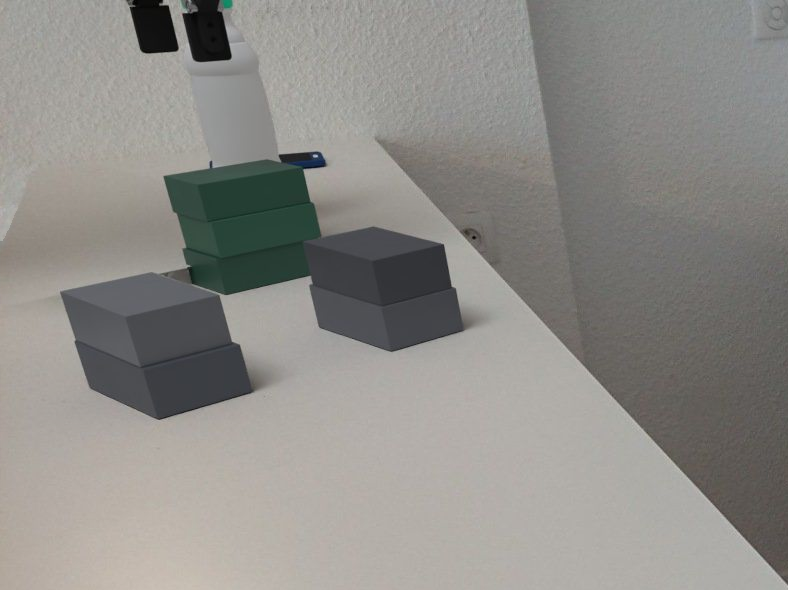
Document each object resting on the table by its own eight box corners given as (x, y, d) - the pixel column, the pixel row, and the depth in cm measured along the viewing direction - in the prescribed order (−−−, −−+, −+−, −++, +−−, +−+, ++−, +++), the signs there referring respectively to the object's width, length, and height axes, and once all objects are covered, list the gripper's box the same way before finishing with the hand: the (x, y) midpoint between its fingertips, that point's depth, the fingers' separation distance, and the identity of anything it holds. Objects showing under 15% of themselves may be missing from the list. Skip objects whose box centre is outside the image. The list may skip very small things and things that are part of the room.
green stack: (226, 295, 120) (207, 222, 117) (191, 283, 124) (171, 212, 121) (329, 271, 128) (314, 202, 124) (293, 260, 131) (277, 193, 128)
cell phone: (326, 165, 173) (325, 159, 173) (210, 175, 168) (209, 169, 167) (322, 156, 179) (320, 150, 179) (210, 165, 173) (208, 159, 173)
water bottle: (219, 235, 140) (153, -13, 129) (237, 220, 146) (176, -18, 135) (288, 232, 141) (229, -14, 130) (303, 217, 148) (248, -18, 136)
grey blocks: (158, 419, 93) (126, 318, 89) (89, 387, 98) (57, 291, 95) (464, 330, 111) (448, 243, 107) (390, 307, 117) (373, 224, 113)
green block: (207, 222, 117) (197, 184, 116) (172, 212, 121) (162, 175, 119) (311, 202, 124) (303, 166, 123) (275, 193, 128) (267, 159, 126)
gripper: (42, -160, 110) (98, 52, 118) (136, -162, 101) (190, 68, 109) (134, -156, 116) (182, 46, 123) (231, -157, 107) (276, 61, 114)
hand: (186, 56), depth 116 cm, fingers open, 9 cm apart
